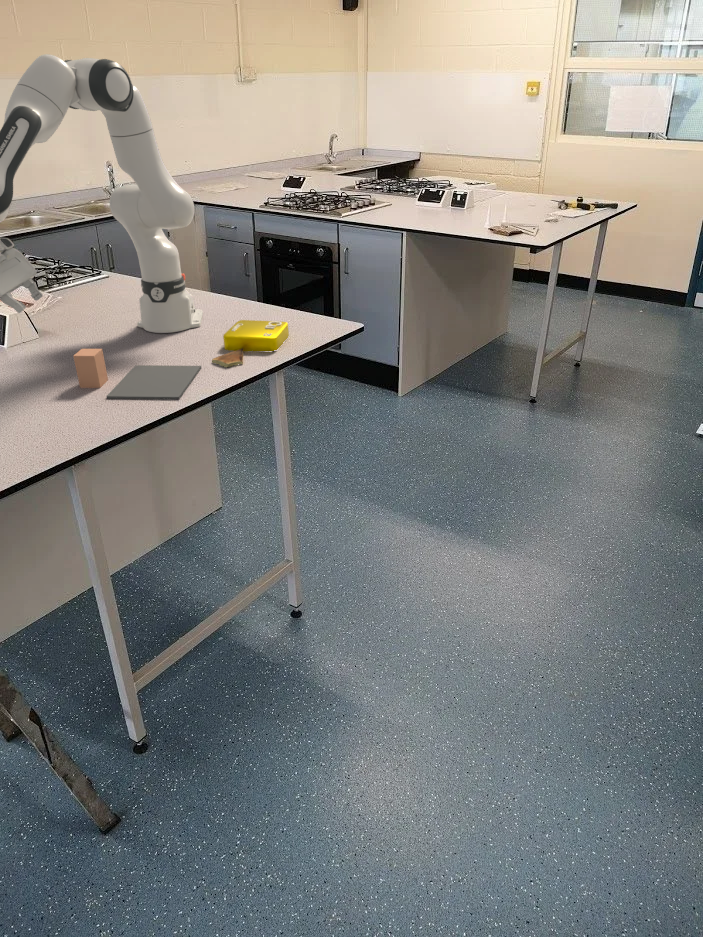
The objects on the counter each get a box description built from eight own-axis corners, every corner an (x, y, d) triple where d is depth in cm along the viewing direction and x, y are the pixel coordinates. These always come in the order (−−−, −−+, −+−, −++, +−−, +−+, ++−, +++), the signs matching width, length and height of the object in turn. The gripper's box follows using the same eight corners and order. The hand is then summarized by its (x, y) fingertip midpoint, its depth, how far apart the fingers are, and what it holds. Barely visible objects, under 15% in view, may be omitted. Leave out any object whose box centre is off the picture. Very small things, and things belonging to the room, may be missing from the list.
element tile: (240, 334, 207) (238, 317, 205) (290, 336, 204) (289, 319, 202) (222, 351, 194) (220, 334, 192) (276, 354, 191) (275, 336, 189)
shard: (243, 353, 193) (242, 346, 192) (262, 359, 188) (262, 352, 188) (211, 364, 186) (210, 357, 185) (230, 371, 181) (229, 364, 180)
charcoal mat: (135, 367, 183) (135, 365, 183) (201, 368, 182) (201, 365, 182) (106, 398, 166) (106, 396, 166) (179, 399, 165) (179, 397, 164)
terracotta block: (88, 379, 177) (81, 348, 173) (108, 380, 176) (102, 348, 172) (80, 387, 172) (73, 355, 168) (100, 387, 172) (94, 356, 168)
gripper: (-31, 257, 151) (21, 309, 156) (12, 237, 169) (57, 284, 174) (-49, 276, 153) (2, 326, 158) (-5, 253, 171) (40, 299, 176)
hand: (31, 304), depth 166 cm, fingers open, 8 cm apart
